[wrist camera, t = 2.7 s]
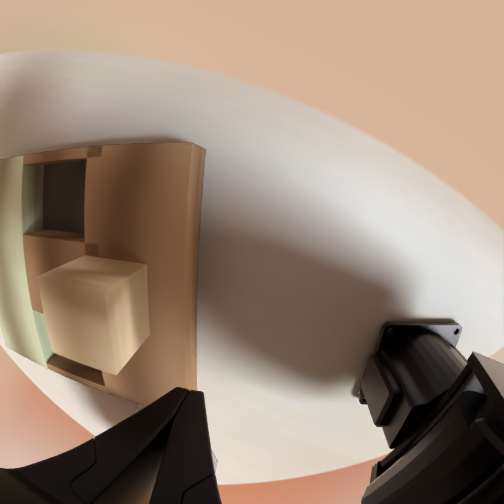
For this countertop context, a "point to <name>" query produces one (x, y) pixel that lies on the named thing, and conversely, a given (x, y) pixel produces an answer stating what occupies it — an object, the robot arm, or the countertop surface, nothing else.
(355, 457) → the countertop surface
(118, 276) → the block
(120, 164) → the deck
